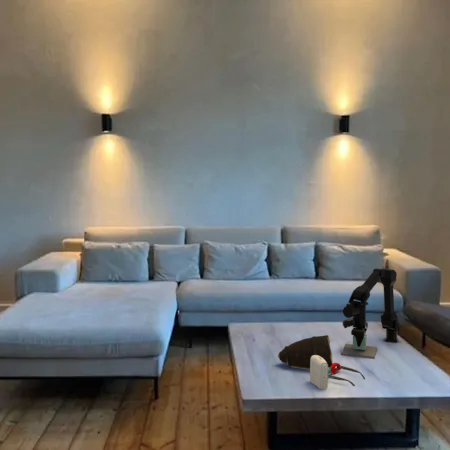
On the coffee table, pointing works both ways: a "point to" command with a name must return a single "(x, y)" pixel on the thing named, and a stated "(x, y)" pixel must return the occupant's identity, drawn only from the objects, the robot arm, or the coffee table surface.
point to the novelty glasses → (334, 370)
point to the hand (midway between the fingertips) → (359, 344)
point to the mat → (359, 351)
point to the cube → (363, 344)
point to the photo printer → (319, 372)
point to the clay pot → (306, 352)
